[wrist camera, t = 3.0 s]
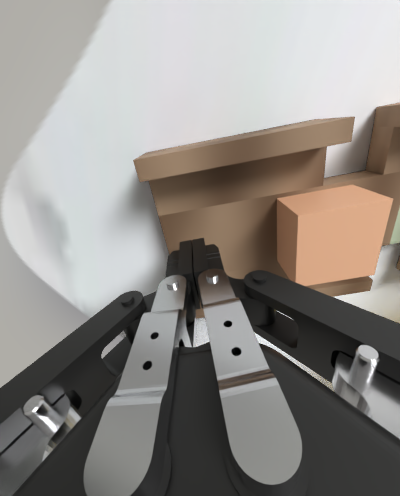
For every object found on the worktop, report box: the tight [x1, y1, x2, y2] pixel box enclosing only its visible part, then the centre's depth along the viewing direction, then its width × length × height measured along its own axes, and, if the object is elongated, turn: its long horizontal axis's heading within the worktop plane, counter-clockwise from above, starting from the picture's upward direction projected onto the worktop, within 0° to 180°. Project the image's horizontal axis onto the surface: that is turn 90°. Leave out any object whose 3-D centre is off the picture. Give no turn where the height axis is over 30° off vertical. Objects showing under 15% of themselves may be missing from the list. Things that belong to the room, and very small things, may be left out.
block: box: [277, 185, 393, 286], centre depth 13 cm, size 4×4×3 cm
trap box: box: [133, 103, 400, 319], centre depth 14 cm, size 21×12×4 cm, turn 100°
